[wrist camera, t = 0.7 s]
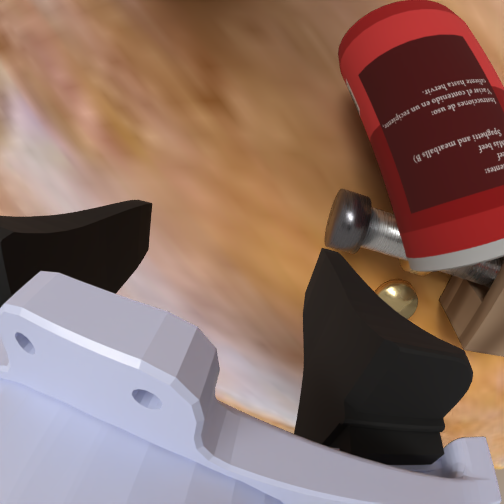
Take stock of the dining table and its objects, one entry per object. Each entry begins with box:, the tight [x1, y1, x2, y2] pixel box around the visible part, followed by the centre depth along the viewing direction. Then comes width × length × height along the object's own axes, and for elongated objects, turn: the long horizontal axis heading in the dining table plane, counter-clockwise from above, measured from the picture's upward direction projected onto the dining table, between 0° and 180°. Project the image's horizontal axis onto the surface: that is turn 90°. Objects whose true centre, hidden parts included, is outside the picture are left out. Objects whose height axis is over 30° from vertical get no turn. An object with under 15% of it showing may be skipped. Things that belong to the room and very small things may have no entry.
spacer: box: [375, 279, 418, 319], centre depth 23 cm, size 4×4×1 cm
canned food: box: [338, 0, 504, 272], centre depth 12 cm, size 8×8×11 cm
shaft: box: [325, 189, 504, 287], centre depth 18 cm, size 13×4×4 cm, turn 77°
